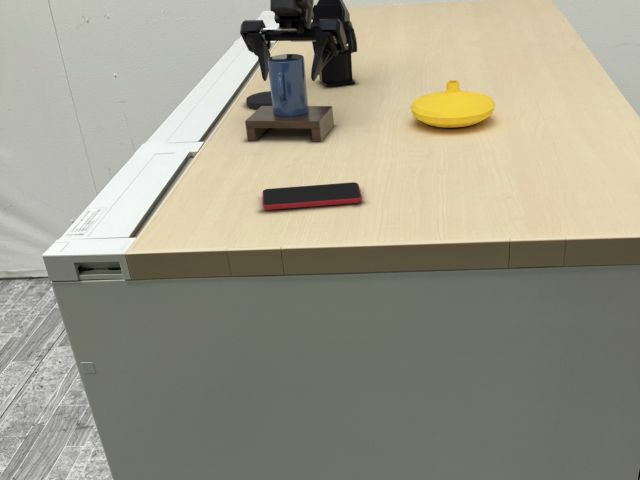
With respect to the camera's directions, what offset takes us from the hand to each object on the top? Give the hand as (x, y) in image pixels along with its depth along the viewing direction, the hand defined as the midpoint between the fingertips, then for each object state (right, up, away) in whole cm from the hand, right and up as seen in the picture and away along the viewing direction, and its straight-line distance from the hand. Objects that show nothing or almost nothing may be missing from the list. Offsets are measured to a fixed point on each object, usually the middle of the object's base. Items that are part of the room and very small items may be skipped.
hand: (288, 79), depth 150 cm
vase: (+30, -6, +5) cm, 31 cm away
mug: (0, -4, +3) cm, 5 cm away
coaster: (-6, +6, +22) cm, 23 cm away
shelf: (0, -8, +5) cm, 9 cm away
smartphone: (+6, -30, -23) cm, 39 cm away
